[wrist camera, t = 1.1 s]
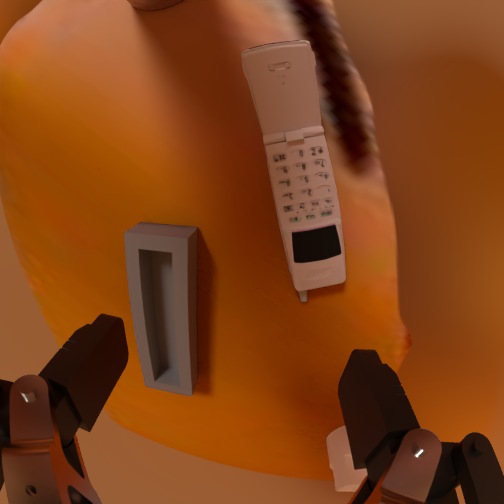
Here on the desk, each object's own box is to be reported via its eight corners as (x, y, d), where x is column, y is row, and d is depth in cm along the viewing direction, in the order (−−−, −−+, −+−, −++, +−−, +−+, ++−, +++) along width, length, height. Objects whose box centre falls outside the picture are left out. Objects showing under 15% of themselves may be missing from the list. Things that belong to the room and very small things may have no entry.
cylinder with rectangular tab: (316, 443, 41) (322, 496, 29) (348, 418, 38) (361, 476, 27) (350, 449, 42) (359, 497, 30) (382, 425, 39) (398, 476, 28)
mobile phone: (310, 36, 17) (359, 316, 24) (302, 59, 22) (345, 288, 30) (235, 48, 17) (297, 328, 25) (243, 69, 23) (293, 298, 31)
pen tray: (141, 222, 28) (124, 232, 25) (198, 227, 28) (187, 238, 24) (154, 367, 35) (145, 386, 32) (198, 375, 35) (192, 396, 32)
